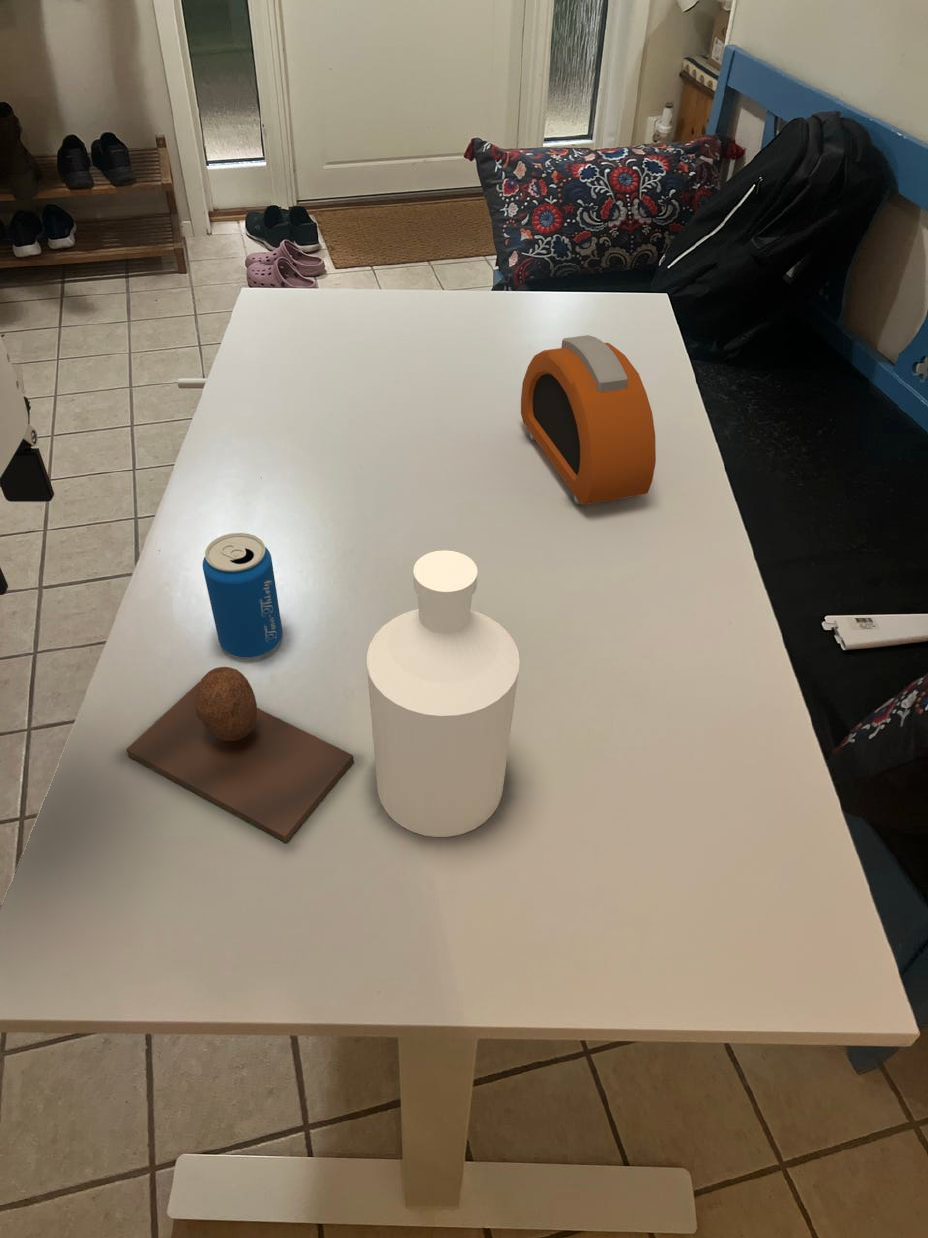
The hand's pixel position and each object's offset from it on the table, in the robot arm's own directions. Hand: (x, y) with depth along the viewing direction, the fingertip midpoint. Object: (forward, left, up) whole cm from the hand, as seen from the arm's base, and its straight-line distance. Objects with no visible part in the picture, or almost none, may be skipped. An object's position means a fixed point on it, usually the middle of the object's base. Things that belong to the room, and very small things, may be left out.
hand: (8, 542), depth 58 cm
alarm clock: (+14, +70, -28) cm, 77 cm away
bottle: (+24, +16, -28) cm, 41 cm away
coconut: (+5, +11, -28) cm, 30 cm away
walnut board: (+7, +9, -28) cm, 31 cm away
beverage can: (-2, +22, -28) cm, 36 cm away
